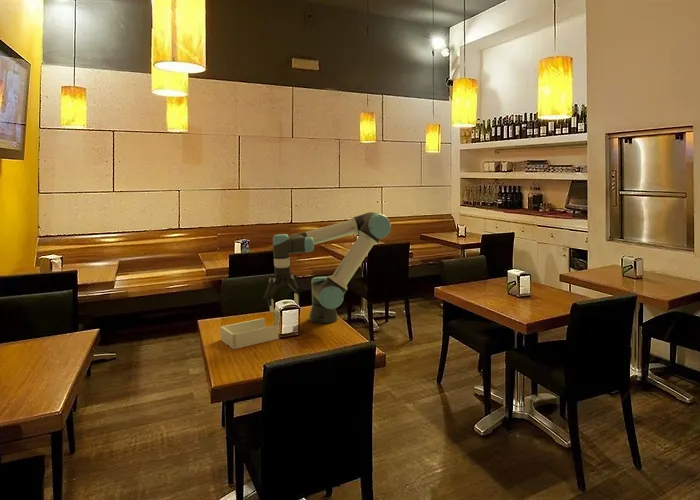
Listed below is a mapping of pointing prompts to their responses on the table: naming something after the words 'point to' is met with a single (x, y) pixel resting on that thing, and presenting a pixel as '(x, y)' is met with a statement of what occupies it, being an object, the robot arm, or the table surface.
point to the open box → (248, 333)
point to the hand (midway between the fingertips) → (284, 309)
